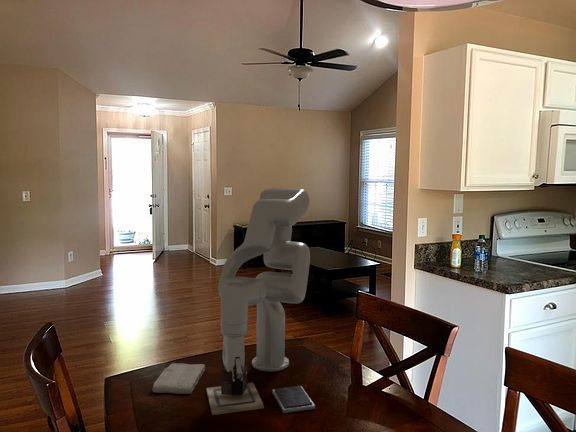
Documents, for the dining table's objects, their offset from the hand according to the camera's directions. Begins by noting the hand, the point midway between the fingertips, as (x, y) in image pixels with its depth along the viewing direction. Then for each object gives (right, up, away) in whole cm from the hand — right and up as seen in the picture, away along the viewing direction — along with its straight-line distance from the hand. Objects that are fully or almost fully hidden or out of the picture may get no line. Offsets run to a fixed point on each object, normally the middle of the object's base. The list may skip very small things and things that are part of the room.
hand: (234, 387), depth 128 cm
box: (0, -1, 0) cm, 1 cm away
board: (0, -4, 0) cm, 4 cm away
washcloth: (-18, -3, +12) cm, 22 cm away
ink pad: (+17, -4, 0) cm, 17 cm away
